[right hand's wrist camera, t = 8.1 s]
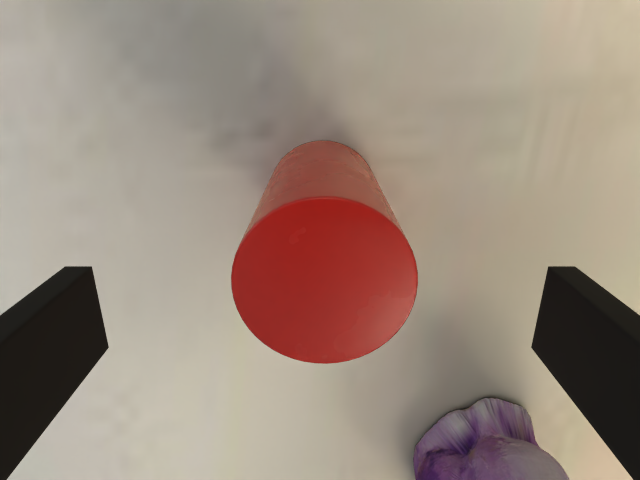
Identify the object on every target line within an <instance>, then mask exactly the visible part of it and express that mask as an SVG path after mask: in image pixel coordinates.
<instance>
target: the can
mask: <svg viewBox="0 0 640 480" xmlns="http://www.w3.org/2000/svg"><path fill="white" fill-rule="evenodd" d="M231 285H232V293H233V298H234V301H235V304H236V307H237V310H238V312H239V314H240V316H241V318H242V320H243V321H244V323H245V324H246V326H247V327H248V328H249V330H250V331H251V332H252V333H253V334H254V335H255V336H256V337H257V338H258V339H259V340H260V341H262V342H263V343H264V344H265V345H267V346H268V347H270V348H271V349H273V350H274V351H276V352H278V353H280V354H282V355H285V356H287V357H290V358H293V359H296V360H300V361H304V362H311V363H338V362H344V361H349V360H352V359H356V358H359V357H361V356H364V355H366V354H368V353H370V352H372V351H374V350H376V349H377V348H379V347H381V346H382V345H383V344H385V343H386V342H387V341H388V340H390V339H391V338H392V337H393V336H394V335H395V334H396V333H397V332H398V330H399V329H400V328H401V327H402V325H403V324H404V322H405V321H406V319H407V317H408V316H409V314H410V311H411V309H412V307H413V304H414V301H415V297H416V293H417V286H418V272H417V266H416V261H415V257H414V254H413V251H412V249H411V247H410V245H409V243H408V241H407V239H406V237H405V235H404V233H403V231H402V229H401V227H400V225H399V223H398V221H397V219H396V218H395V216H394V214H393V212H392V210H391V208H390V206H389V204H388V202H387V200H386V198H385V196H384V194H383V192H382V190H381V189H380V187H379V185H378V183H377V181H376V179H375V177H374V175H373V173H372V171H371V169H370V167H369V166H368V164H367V163H366V161H365V160H364V159H363V158H362V157H361V156H360V155H359V154H358V153H357V152H356V151H354V150H353V149H351V148H350V147H348V146H345V145H343V144H340V143H337V142H332V141H313V142H309V143H305V144H303V145H300V146H298V147H296V148H294V149H293V150H292V151H290V152H289V153H288V154H287V155H285V156H284V157H283V158H282V160H281V161H280V162H279V163H278V165H277V167H276V168H275V170H274V172H273V175H272V177H271V179H270V181H269V183H268V185H267V187H266V190H265V192H264V194H263V196H262V198H261V200H260V202H259V204H258V207H257V209H256V211H255V213H254V215H253V217H252V219H251V222H250V224H249V226H248V228H247V230H246V232H245V234H244V237H243V239H242V241H241V243H240V245H239V247H238V250H237V252H236V255H235V258H234V262H233V266H232V274H231Z"/></svg>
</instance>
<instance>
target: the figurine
mask: <svg viewBox="0 0 640 480" xmlns="http://www.w3.org/2000/svg"><path fill="white" fill-rule="evenodd" d="M413 462H414V470H415V477H416V480H569V478H568V476H567V474H566V472H565V471H564V469H563V468H562V467H561V465H560V464H559V463H558V462H557V461H556V460H555V459H554V458H553V457H552V456H551V455H550V454H549V453H547V452H545V451H544V450H542V449H541V448H540V447H539V446H538V444H537V442H536V441H535V436H534V432H533V427H532V422H531V418H530V416H529V414H528V413H527V411H526V409H524V408H523V407H522V406H519V405H516V404H512V403H509V402H506V401H502V400H499V399H494V398H489V399H488V398H484V399H481V400H478V401H477V402H476V403H475V404H473V405H471V406H470V407H469V408H467V409H464V410H455V411H452V412H450V413H448V414H446V416H444V417H442V418H441V419H440V420H439V421H438V422H437V423H436V424H434V425H433V427H432V428H431V429H429V430H428V431H427V432H426V433H425V435H424V436H423V437H422V438H421V440H420V441H419V442H418V443H417V445H416V446H415V451H414V458H413Z"/></svg>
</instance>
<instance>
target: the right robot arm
mask: <svg viewBox="0 0 640 480" xmlns="http://www.w3.org/2000/svg"><path fill="white" fill-rule="evenodd" d="M108 348H109V347H108V342H107V337H106V332H105V328H104V323H103V318H102V313H101V308H100V304H99V299H98V294H97V289H96V285H95V280H94V275H93V270H92V267H64V268H63V269H61V270H60V271H59V272H57V273H56V274H55V275H53V276H52V277H51V278H49V279H48V280H47V281H45V282H44V283H43V284H41V285H40V286H39V287H37V288H36V289H35V290H33V291H32V292H31V293H29V294H28V295H27V296H25V297H24V298H23V299H21V300H20V301H19V302H18V303H16V304H15V305H14V306H12V307H11V308H10V309H8V310H7V311H6V312H4V313H3V314H2V315H0V480H7V478H8V477H9V476H10V474H11V473H12V472H13V471H14V469H15V468H16V467H17V465H18V464H19V463H20V461H21V460H22V459H23V458H24V456H25V455H26V454H27V452H28V451H29V450H30V449H31V447H32V446H33V445H34V443H35V442H36V441H37V439H38V438H39V437H40V436H41V434H42V433H43V432H44V430H45V429H46V428H47V427H48V425H49V424H50V423H51V421H52V420H53V419H54V417H55V416H56V415H57V414H58V412H59V411H60V410H61V408H62V407H63V406H64V405H65V403H66V402H67V401H68V399H69V398H70V397H71V395H72V394H73V393H74V392H75V390H76V389H77V388H78V386H79V385H80V384H81V383H82V381H83V380H84V379H85V377H86V376H87V375H88V374H89V372H90V371H91V370H92V368H93V367H94V366H95V364H96V363H97V362H98V361H99V359H100V358H101V357H102V355H103V354H104V353H105V352H106V350H107V349H108ZM531 348H532V349H533V350H534V352H535V353H536V354H537V355H538V357H539V358H540V359H541V361H542V362H543V363H544V364H545V366H546V367H547V368H548V370H549V371H550V372H551V374H552V375H553V376H554V377H555V379H556V380H557V381H558V383H559V384H560V385H561V386H562V388H563V389H564V390H565V392H566V393H567V394H568V396H569V397H570V398H571V399H572V401H573V402H574V403H575V405H576V406H577V407H578V408H579V410H580V411H581V412H582V414H583V415H584V416H585V417H586V419H587V420H588V421H589V423H590V424H591V425H592V427H593V428H594V429H595V430H596V432H597V433H598V434H599V436H600V437H601V438H602V439H603V441H604V442H605V443H606V445H607V446H608V447H609V449H610V450H611V451H612V452H613V454H614V455H615V456H616V458H617V459H618V460H619V461H620V463H621V464H622V465H623V467H624V468H625V469H626V471H627V472H628V473H629V474H630V476H631V477H632V478H633V480H640V315H638V314H637V313H636V312H634V311H633V310H632V309H630V308H629V307H628V306H626V305H625V304H624V303H622V302H621V301H620V300H619V299H617V298H616V297H615V296H613V295H612V294H611V293H609V292H608V291H607V290H605V289H604V288H603V287H601V286H600V285H599V284H597V283H596V282H595V281H593V280H592V279H591V278H589V277H588V276H587V275H585V274H584V273H583V272H581V271H580V270H579V269H577V268H576V267H548V270H547V275H546V280H545V285H544V289H543V294H542V299H541V304H540V308H539V313H538V318H537V323H536V328H535V332H534V337H533V342H532V347H531Z"/></svg>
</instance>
